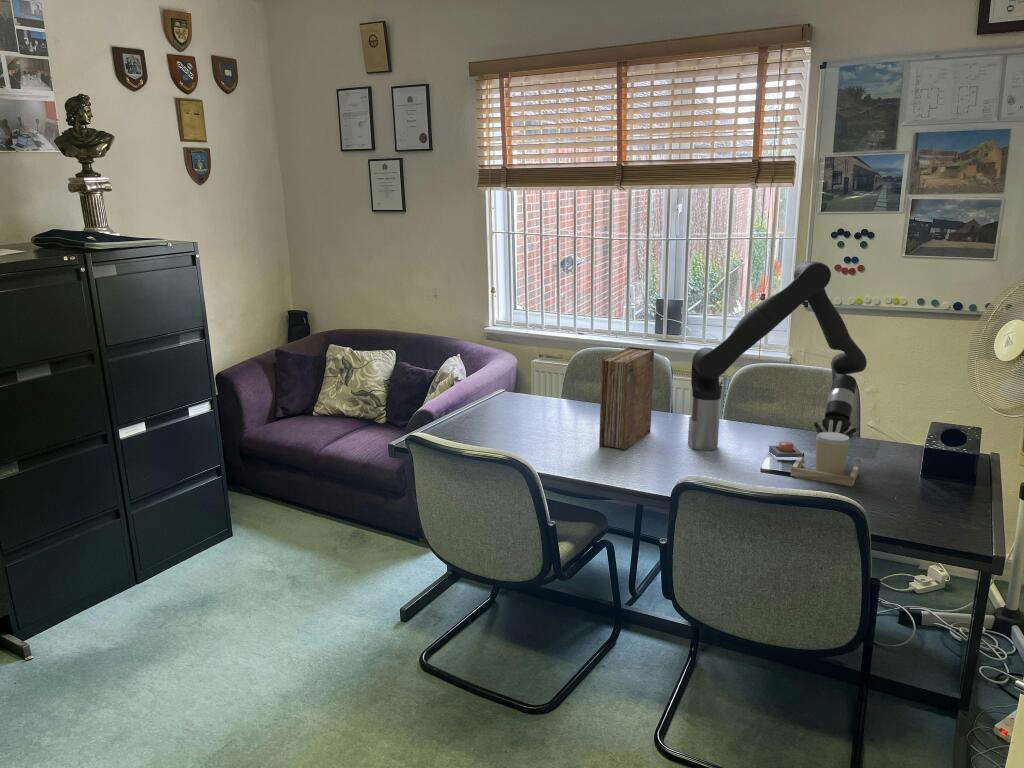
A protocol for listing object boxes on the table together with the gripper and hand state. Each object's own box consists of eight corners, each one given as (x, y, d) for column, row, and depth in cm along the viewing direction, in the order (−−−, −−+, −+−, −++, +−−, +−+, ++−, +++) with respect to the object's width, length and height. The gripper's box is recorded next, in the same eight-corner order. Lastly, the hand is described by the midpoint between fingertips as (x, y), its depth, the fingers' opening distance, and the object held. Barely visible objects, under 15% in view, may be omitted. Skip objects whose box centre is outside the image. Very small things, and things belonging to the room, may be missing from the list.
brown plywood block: (624, 451, 250) (628, 362, 243) (598, 447, 254) (601, 359, 247) (650, 431, 271) (654, 349, 264) (626, 428, 276) (629, 346, 269)
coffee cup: (840, 469, 234) (844, 431, 231) (850, 480, 225) (855, 441, 222) (808, 468, 234) (812, 431, 232) (818, 479, 225) (822, 440, 222)
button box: (776, 460, 241) (777, 453, 241) (768, 452, 249) (769, 445, 248) (802, 460, 241) (802, 453, 241) (793, 452, 249) (793, 445, 248)
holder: (852, 486, 219) (853, 478, 219) (790, 475, 228) (791, 468, 227) (857, 474, 230) (858, 466, 229) (798, 464, 238) (798, 456, 237)
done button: (781, 454, 243) (781, 445, 242) (776, 450, 247) (777, 441, 246) (794, 454, 243) (795, 445, 242) (790, 450, 247) (790, 441, 246)
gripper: (817, 396, 241) (806, 443, 234) (862, 402, 234) (853, 450, 227) (818, 409, 247) (808, 455, 239) (862, 414, 240) (853, 462, 233)
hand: (830, 453), depth 233 cm, fingers closed
